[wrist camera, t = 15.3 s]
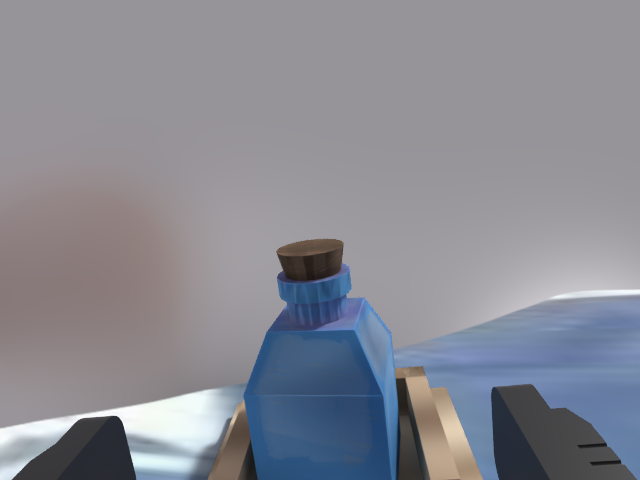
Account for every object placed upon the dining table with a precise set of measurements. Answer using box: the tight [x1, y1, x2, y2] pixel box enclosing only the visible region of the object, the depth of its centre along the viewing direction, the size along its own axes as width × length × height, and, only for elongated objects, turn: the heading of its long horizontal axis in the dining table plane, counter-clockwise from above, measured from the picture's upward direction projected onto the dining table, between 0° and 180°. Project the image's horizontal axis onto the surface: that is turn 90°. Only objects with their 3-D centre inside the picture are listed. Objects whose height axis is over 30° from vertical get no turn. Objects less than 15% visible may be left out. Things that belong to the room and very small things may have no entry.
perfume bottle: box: [243, 239, 401, 480], centre depth 23 cm, size 6×6×12 cm
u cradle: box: [208, 366, 483, 480], centre depth 24 cm, size 14×14×3 cm
